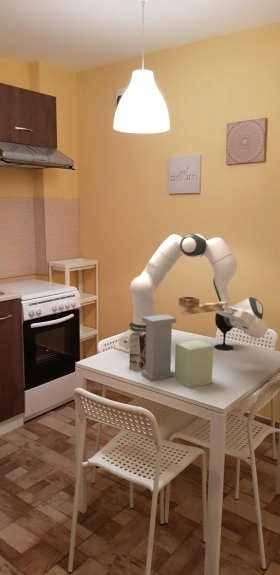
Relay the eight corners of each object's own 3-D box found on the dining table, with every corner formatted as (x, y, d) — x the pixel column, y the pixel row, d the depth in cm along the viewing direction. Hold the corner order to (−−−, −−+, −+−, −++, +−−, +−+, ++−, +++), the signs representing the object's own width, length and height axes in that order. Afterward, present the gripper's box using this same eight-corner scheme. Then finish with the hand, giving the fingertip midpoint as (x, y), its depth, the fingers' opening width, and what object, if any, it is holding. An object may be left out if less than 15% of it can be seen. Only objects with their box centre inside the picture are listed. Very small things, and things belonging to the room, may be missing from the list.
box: (197, 375, 195) (198, 339, 193) (211, 382, 187) (213, 346, 184) (174, 379, 190) (175, 343, 187) (188, 387, 181) (189, 350, 178)
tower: (164, 370, 200) (165, 314, 196) (174, 376, 193) (176, 318, 189) (141, 375, 194) (142, 317, 190) (150, 381, 187) (151, 321, 183)
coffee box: (141, 371, 199) (141, 336, 196) (128, 368, 202) (129, 334, 199) (150, 365, 207) (151, 331, 204) (138, 362, 210) (139, 329, 207)
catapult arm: (220, 307, 193) (221, 293, 192) (229, 310, 188) (230, 295, 187) (178, 312, 183) (178, 297, 181) (186, 315, 177) (187, 299, 176)
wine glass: (219, 343, 243) (221, 307, 239) (237, 347, 237) (239, 310, 233) (210, 347, 235) (211, 310, 231) (228, 351, 228) (230, 313, 225)
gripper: (227, 307, 205) (207, 294, 198) (259, 316, 187) (238, 302, 180) (221, 319, 204) (200, 307, 197) (253, 330, 187) (231, 316, 180)
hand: (219, 305), depth 189 cm, fingers closed on catapult arm, 3 cm apart
